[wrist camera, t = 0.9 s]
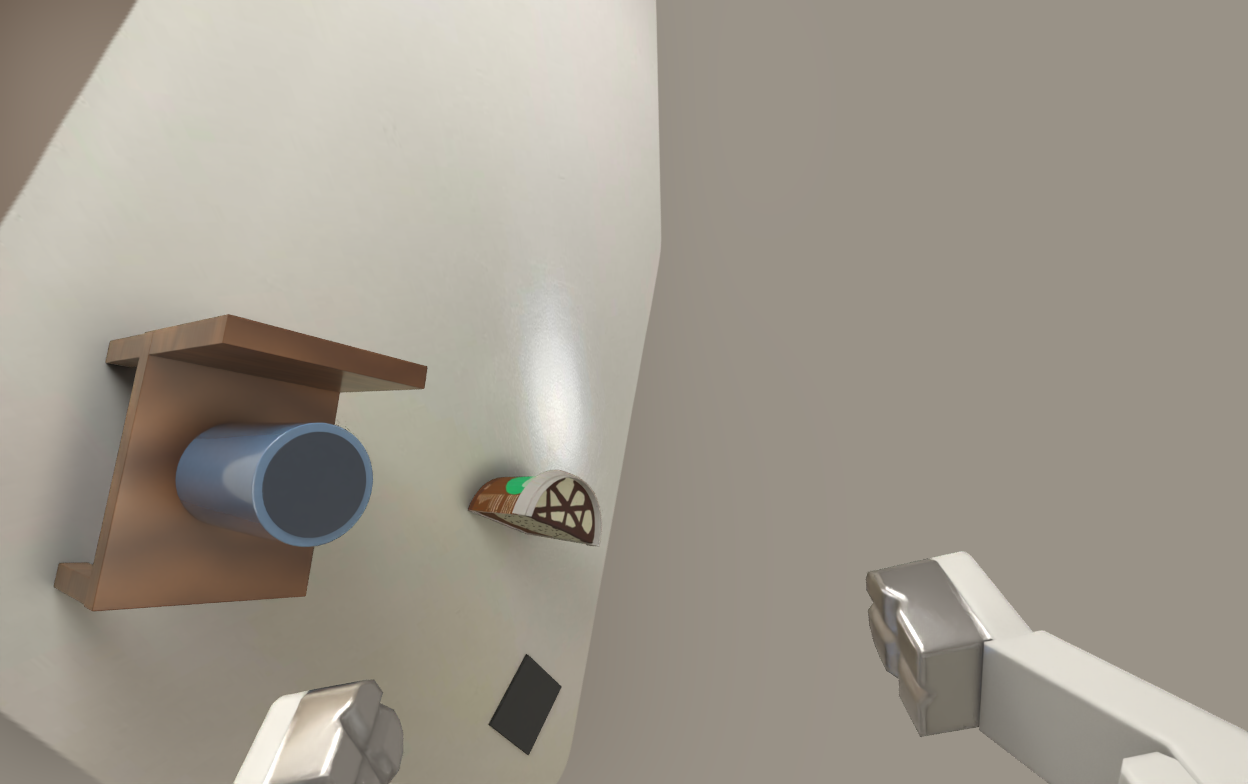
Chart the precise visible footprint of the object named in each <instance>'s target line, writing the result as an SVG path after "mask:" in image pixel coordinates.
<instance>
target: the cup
mask: <svg viewBox="0 0 1248 784" xmlns="http://www.w3.org/2000/svg"><path fill="white" fill-rule="evenodd" d="M372 485H373V472H372V466H371V462H370V459H369V456H368V454H367V452H366V450H365V448H364V447H363V445H362V444H361V442H360V441H359V440H358V439H357V438H356V437H355V436H354V435H353V434H351V433H350V432H348V431H347V430H345V429H343V428H341V427H339V426H336V425H333V424H328V423H312V422H229V423H224V424H220V425H217V426H214V427H212V428H210V429H208V430H206V431H205V432H203V433H201V434H200V435H199V436H198V437H196V438H195V439H194V440H193V441H192V442H191V443H190V444H189V445H188V447H187V448H186V449H185V451H184V453H183V454H182V456H181V458H180V461H179V463H178V466H177V471H176V489H177V494H178V496H179V499H180V501H181V503H182V505H183V506H184V508H185V509H186V510H187V511H188V513H190V514H191V515H192V516H193V517H194V518H196V519H197V520H199V521H200V522H202V523H205V524H207V525H210V526H213V527H217V528H221V529H225V530H230V531H234V532H238V533H242V534H246V535H250V536H255V537H259V538H263V539H267V540H271V541H275V542H280V543H284V544H288V545H292V546H298V547H313V546H319V545H323V544H326V543H329V542H331V541H333V540H335V539H337V538H339V537H340V536H342V535H343V534H345V533H346V532H347V531H348V530H349V529H351V528H352V527H353V526H354V524H355V523H356V522H357V521H358V520H359V518H360V517H361V515H362V514H363V512H364V510H365V509H366V506H367V504H368V502H369V499H370V495H371V491H372Z"/></svg>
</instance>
